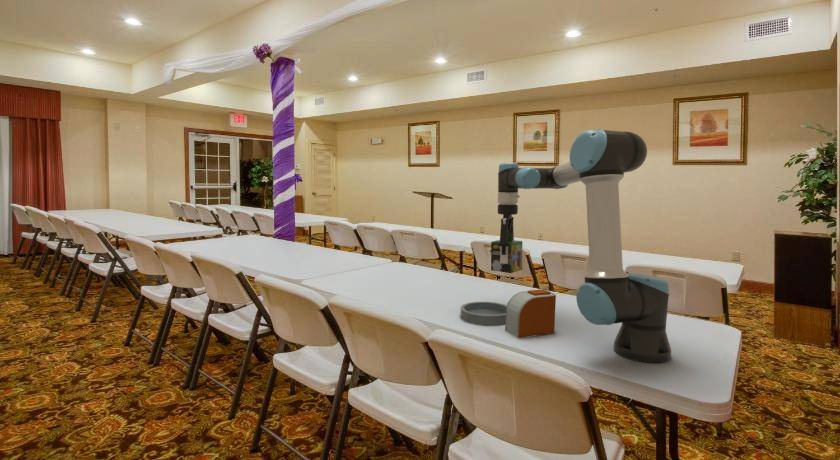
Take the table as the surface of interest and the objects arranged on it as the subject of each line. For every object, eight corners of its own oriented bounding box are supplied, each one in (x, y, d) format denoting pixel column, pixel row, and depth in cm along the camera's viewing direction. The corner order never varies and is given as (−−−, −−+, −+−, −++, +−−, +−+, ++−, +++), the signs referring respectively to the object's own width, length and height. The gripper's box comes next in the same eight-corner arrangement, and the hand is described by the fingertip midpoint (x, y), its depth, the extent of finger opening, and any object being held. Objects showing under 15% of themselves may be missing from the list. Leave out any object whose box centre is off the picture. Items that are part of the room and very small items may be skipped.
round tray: (506, 328, 157) (507, 318, 157) (454, 321, 164) (455, 312, 163) (515, 313, 175) (515, 304, 174) (467, 308, 181) (468, 299, 181)
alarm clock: (541, 325, 161) (543, 287, 160) (556, 333, 153) (558, 293, 152) (504, 330, 156) (505, 290, 154) (518, 338, 148) (520, 296, 146)
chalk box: (522, 270, 180) (523, 232, 179) (511, 273, 173) (512, 234, 172) (501, 267, 186) (502, 231, 185) (489, 270, 179) (490, 232, 178)
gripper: (512, 205, 165) (511, 266, 167) (522, 203, 187) (520, 257, 189) (491, 204, 168) (490, 265, 170) (503, 202, 189) (502, 256, 191)
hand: (506, 261), depth 179 cm, fingers closed on chalk box, 10 cm apart
